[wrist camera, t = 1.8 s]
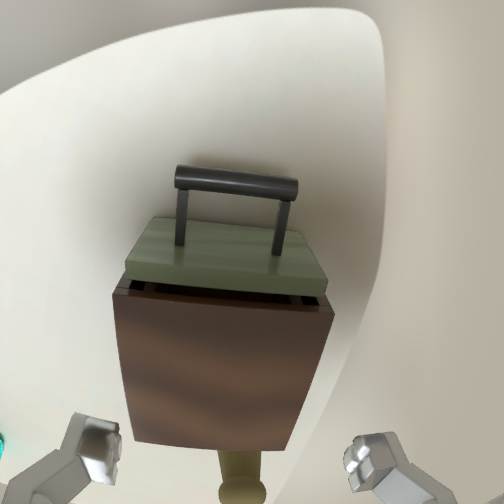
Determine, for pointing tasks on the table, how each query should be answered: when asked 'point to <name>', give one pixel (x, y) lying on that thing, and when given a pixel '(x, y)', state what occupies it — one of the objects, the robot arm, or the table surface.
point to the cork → (241, 477)
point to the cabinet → (216, 366)
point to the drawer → (227, 246)
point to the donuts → (1, 448)
